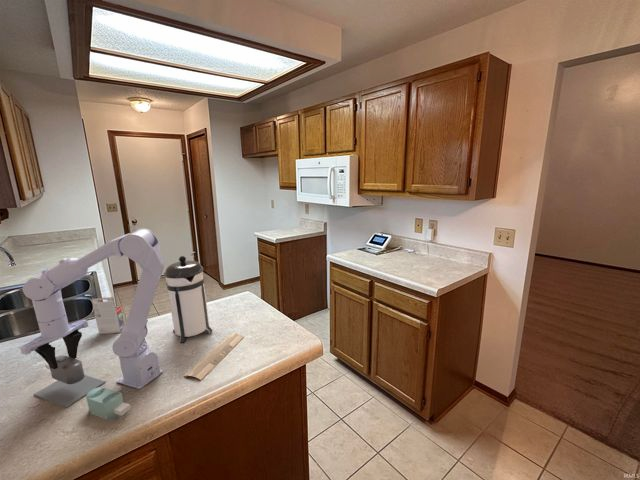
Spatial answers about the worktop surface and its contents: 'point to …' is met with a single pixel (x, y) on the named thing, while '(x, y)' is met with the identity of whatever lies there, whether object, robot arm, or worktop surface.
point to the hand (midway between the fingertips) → (63, 362)
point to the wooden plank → (214, 356)
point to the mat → (68, 391)
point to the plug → (67, 370)
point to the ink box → (108, 316)
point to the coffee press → (187, 298)
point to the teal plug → (106, 403)
